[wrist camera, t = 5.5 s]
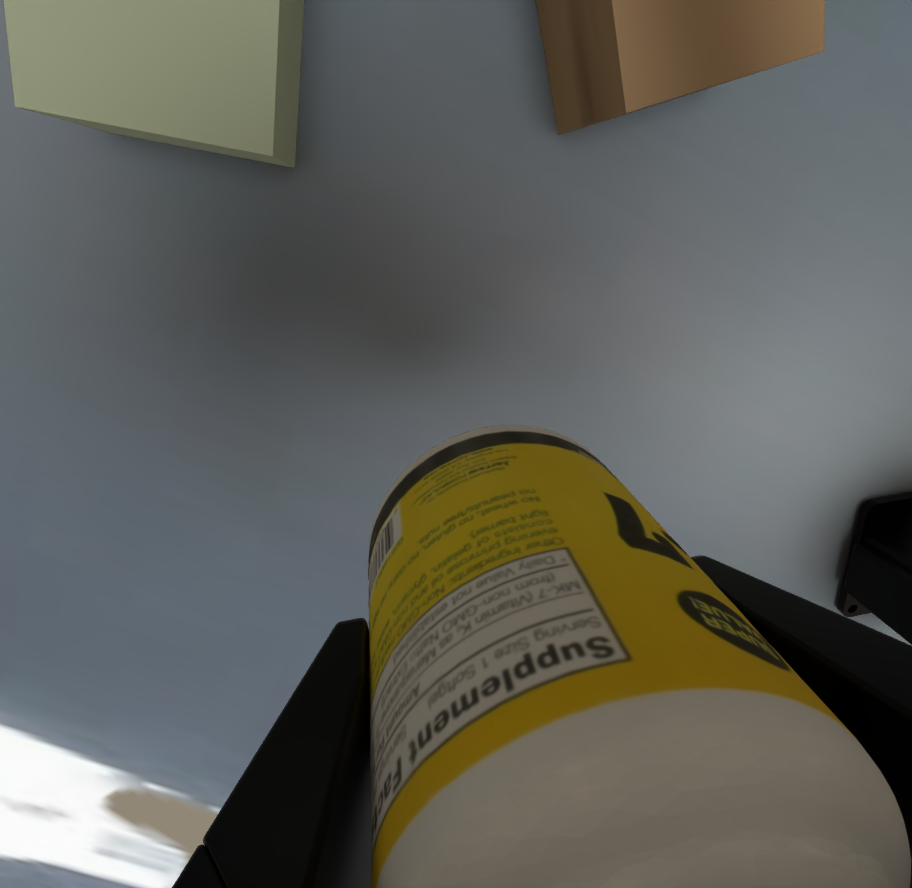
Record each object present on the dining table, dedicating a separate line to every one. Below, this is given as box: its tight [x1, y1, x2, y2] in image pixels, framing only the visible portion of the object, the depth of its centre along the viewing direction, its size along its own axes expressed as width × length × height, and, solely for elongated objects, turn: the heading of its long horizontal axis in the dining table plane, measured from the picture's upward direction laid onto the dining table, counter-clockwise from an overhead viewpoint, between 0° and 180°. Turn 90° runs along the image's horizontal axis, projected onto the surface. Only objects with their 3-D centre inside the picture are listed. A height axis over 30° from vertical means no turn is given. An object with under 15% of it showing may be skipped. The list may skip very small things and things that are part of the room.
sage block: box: [4, 0, 304, 168], centre depth 13 cm, size 5×5×5 cm
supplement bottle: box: [368, 425, 911, 888], centre depth 7 cm, size 5×5×8 cm
